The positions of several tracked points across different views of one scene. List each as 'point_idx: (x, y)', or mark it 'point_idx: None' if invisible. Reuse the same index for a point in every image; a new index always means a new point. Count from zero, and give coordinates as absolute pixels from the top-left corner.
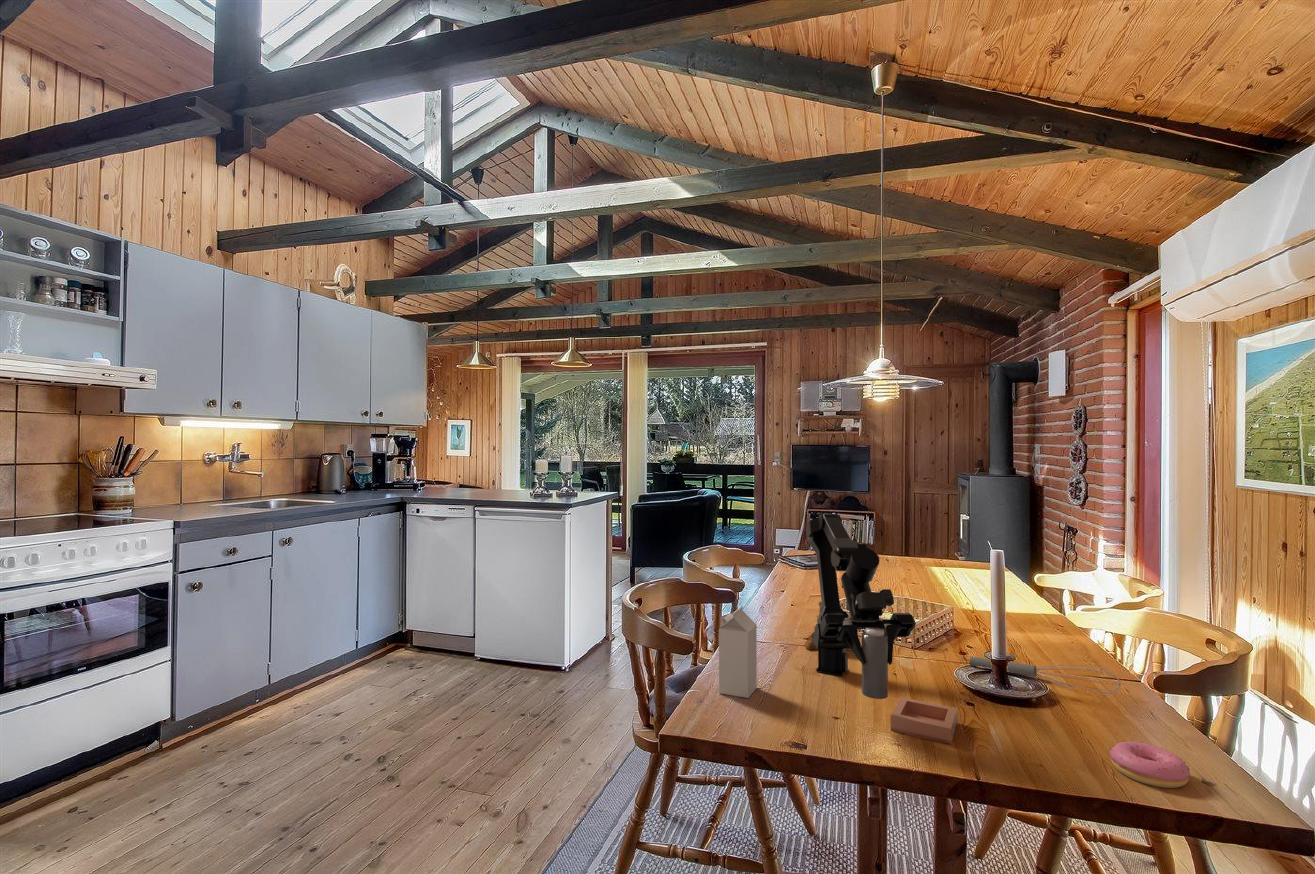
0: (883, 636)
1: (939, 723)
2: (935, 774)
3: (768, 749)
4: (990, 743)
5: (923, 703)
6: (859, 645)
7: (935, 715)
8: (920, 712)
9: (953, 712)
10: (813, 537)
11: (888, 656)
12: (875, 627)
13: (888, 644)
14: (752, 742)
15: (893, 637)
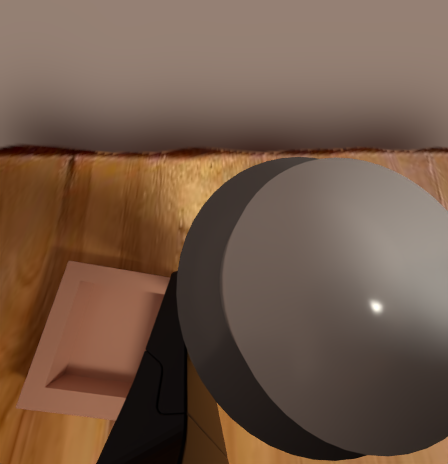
0: (225, 247)
1: (89, 279)
2: (134, 154)
3: (354, 152)
4: (2, 299)
5: (106, 402)
6: None
7: (89, 380)
8: (124, 385)
9: (35, 367)
10: None
11: None
12: (387, 449)
13: (181, 339)
14: (380, 164)
15: (114, 444)
